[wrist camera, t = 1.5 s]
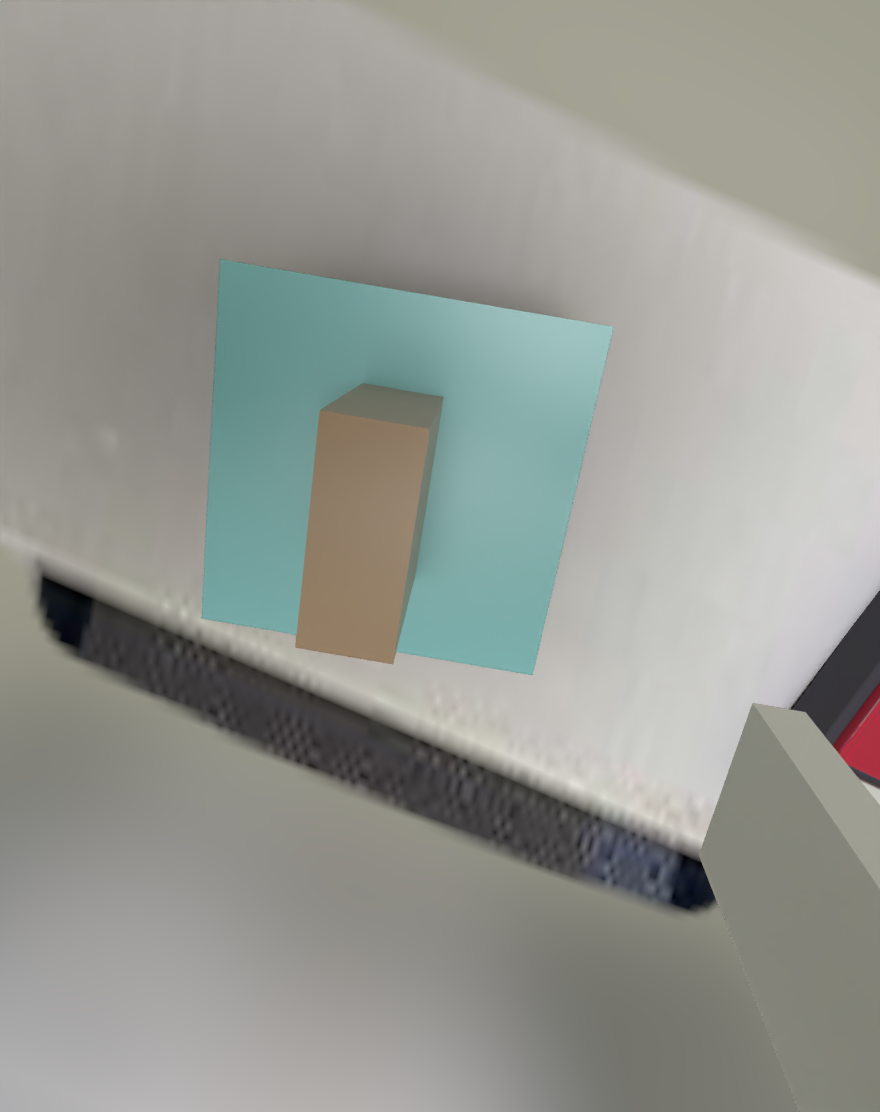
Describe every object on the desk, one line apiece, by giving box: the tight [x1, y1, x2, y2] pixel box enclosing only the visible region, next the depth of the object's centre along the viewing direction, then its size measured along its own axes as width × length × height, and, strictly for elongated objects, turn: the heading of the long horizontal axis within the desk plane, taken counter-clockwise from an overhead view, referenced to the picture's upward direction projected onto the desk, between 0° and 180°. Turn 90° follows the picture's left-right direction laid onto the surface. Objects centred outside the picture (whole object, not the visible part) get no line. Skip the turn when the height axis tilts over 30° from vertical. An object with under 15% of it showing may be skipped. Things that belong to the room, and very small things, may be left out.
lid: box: [201, 259, 614, 675], centre depth 21 cm, size 12×12×8 cm
